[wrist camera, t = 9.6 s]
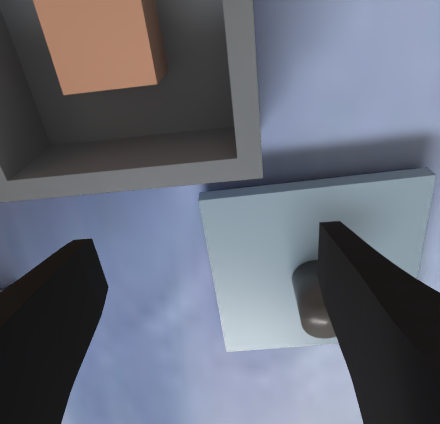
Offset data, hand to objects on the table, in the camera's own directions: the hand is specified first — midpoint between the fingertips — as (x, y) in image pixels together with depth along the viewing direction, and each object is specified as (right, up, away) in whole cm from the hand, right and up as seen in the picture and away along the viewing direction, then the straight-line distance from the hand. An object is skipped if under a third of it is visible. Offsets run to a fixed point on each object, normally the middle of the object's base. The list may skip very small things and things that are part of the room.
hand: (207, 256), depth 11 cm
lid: (+6, -2, +12) cm, 14 cm away
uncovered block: (-4, +10, +5) cm, 12 cm away
